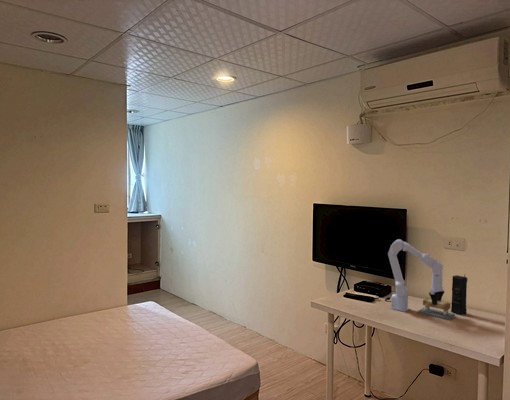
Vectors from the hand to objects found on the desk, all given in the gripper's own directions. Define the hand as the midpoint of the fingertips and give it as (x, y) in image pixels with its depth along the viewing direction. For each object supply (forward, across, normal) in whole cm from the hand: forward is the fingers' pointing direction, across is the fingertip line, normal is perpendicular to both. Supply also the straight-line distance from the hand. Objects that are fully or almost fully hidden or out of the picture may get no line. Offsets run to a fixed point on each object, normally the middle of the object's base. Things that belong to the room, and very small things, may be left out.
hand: (436, 303), depth 226 cm
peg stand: (+7, 0, 0) cm, 7 cm away
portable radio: (+7, +13, -8) cm, 17 cm away
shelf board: (+2, 0, 0) cm, 2 cm away
